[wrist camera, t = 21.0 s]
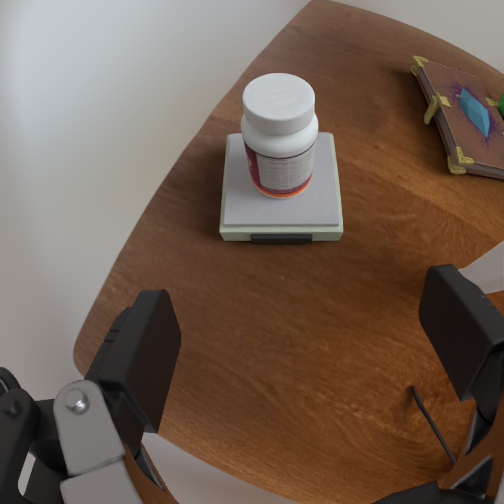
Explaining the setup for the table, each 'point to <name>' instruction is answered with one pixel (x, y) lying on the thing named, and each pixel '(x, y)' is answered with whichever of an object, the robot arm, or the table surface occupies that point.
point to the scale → (281, 201)
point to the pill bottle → (279, 134)
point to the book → (463, 118)
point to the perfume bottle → (487, 270)
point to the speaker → (501, 105)
